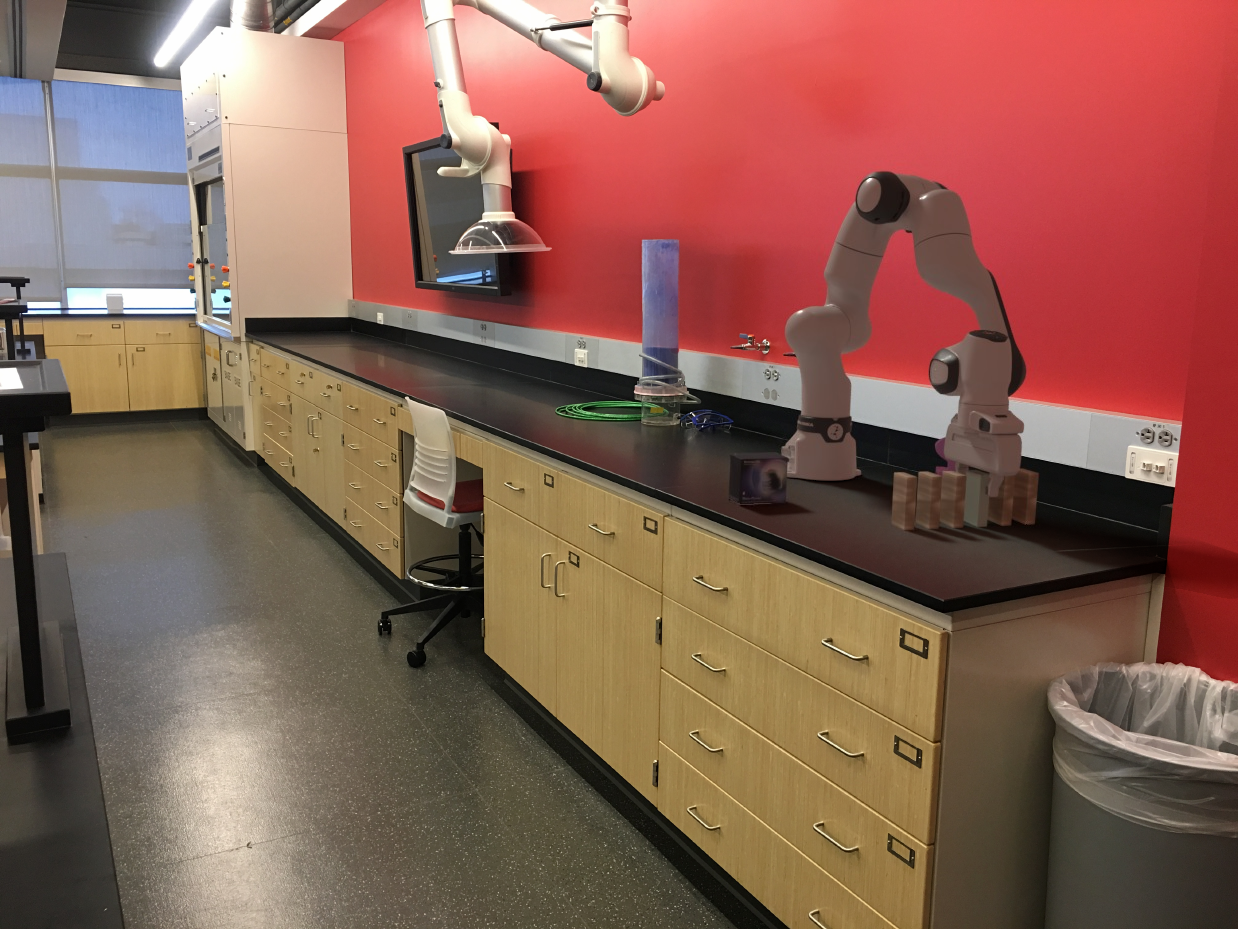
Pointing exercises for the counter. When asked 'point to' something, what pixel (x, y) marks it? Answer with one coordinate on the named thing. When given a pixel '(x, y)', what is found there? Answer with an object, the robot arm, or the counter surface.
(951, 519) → the domino
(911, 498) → the domino
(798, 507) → the counter surface
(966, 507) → the domino
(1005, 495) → the domino
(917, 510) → the domino
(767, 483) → the small box
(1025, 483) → the domino
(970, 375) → the robot arm
